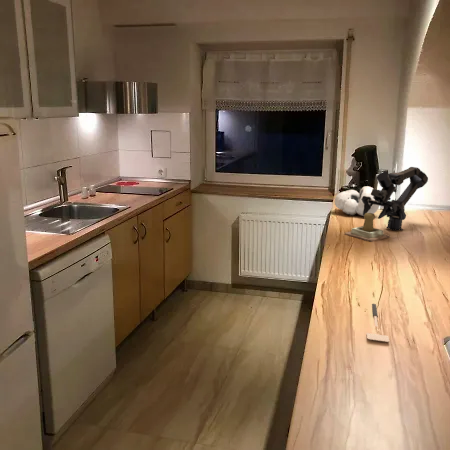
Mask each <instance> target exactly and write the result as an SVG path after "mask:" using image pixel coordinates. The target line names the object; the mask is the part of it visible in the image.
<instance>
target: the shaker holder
mask: <svg viewBox="0 0 450 450" xmlns="http://www.w3.org/2000/svg"><path fill="white" fill-rule="evenodd" d="M362 229H363V225H362V226H357V227H353V228H351V229H350V231H347V232H344V235H346V236H349V237H352V238H356V239H360V240H364V241H368V242H375V241H379V240H383V239H387V238H390V235H388V234H385V233H384V229H381V228H380V229H379V228H375V227H373V232H366V231H362Z"/></svg>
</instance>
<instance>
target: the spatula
mask: <svg viewBox="0 0 450 450" xmlns="http://www.w3.org/2000/svg"><path fill="white" fill-rule="evenodd" d="M371 308H372V316H373V317H374V318H373V319H374V328H375V327H377V328H378V327H379V325H378V316H379V315H378V309H377V303H372V304H371ZM366 338H367V339H368V340H370V341H372V340H373V341H378V342H386V343H389V342H390V337H389V335H383V334H376V333H371V332H370V333H369V332H366Z"/></svg>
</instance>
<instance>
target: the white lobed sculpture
mask: <svg viewBox="0 0 450 450" xmlns="http://www.w3.org/2000/svg"><path fill="white" fill-rule="evenodd" d="M372 189H374V188H373V186H372V187H371V186H368V185H367V186H363V187H362V188H361V189H360V190H359V192H358V191H357V190H355V189H348V190H345V191H341V192H339V193H337V194H336V196H335V197H334V205H335V207H336V208H337V209H339V210H342V212H343V213H345V214H346V215H350V216H354V215H356V214H357V215H359V216H362V217H364V215H363V210H364V203H363V202H362V200H361V199H362V197H363V196H368V197H370V198H371V199H372V200H375V199H374V198H373V197H374V196H372V195H371V192H372ZM379 207H380V206H379V205H375V204H373V205H372V206H371V209H370V210H369V211H368V212H367V213H372V214H374V215H375V213H377V211H378V210H379Z"/></svg>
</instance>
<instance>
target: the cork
mask: <svg viewBox="0 0 450 450" xmlns="http://www.w3.org/2000/svg"><path fill="white" fill-rule="evenodd" d="M363 218H364V222H363V225H362V226H363V229H362V231H366V232H373V228H374V219H375V213H374V214H372V213H365V215H364V216H363Z"/></svg>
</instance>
